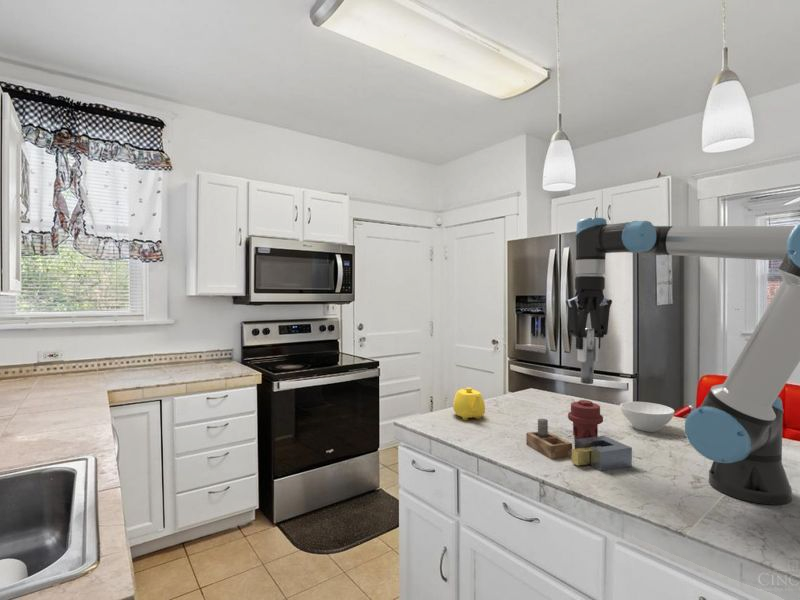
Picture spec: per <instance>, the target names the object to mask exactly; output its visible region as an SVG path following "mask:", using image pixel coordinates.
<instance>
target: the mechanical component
mask: <svg viewBox="0 0 800 600" xmlns="http://www.w3.org/2000/svg"><path fill="white" fill-rule="evenodd" d="M567 419H568V420H569V421H570V422H572V435H573V439H574V440H575V439H582V438H590V437H598V436H599V434H598V433H599V432H598V431H599V430H598V427H599V425H601V424H603V422H604V416H603V415H602V414H601V405H599V404H598V403H594V402H593V401H591V400H586V399H580V400H578V401H573V402H571V403H570V411H569V412H568V413H567Z"/></svg>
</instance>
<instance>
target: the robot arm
mask: <svg viewBox="0 0 800 600" xmlns="http://www.w3.org/2000/svg"><path fill="white" fill-rule="evenodd" d="M575 233H576V234H575V271H574V273H575V274H576V275H577V276H575V277H574V289H575V294H574V297H572V298H570V299H569V298H568V299H566V300H565V303H566V306H567V310H568V313H567V314H568V331H569V332H568V334H569V335H570V336H573V337H574V338H575V349H576V350H577V358H576V359H577V362H580V363H581V362H586V354H587V338H584V336H585V329H586V328H587V322H588V318H590V326H591V327H590V328H593V329H595V336H594V362H599V349H601V339H602V338H604V337H605V336H607V335H608V330H609V321H610V310H611V307H612V304H613V300H612V299H608V298H607V297H605V295H604V290H605V289H606V288H605V287H606V278H605V276H604V275H605V274H606V254H612V253H613V254H614V253H617V254H618V253H631V254H632V253H633V254H634V253H635V254H645V255H646V254H647V255H652V256H653V255H654V256H660V255H661V256H662V255H663V256H680V257H681V256H683V257H702V258H703V257H705V258H719V259H720V258H721V259H722V258H723V259H737V260H738V259H742V260H758V261H760V260H761V261H777V262H778V261H779V262H781V264H780V266H779V267H778V269H777V271H778V272H779V276H780V278H782V279H781V280H782V281H781V283H780V285H779V286H778V288H777V290H776V292H775V293H774V296H773V297H772V299H771V300H770V302H769V304H768V306H767V307H766V309H765V310H764V313H763V314H762V317H760V320H759V322H758V323H757V325H756V326H755V328H754V330H753V332H752V333H751V335H750V337H749V338H748V340H747V342H746V344H745V346H744V347H743V348H742V351H741V352H740V354H739V356H738V358H737V359H736V361H735V363H734V365H732V366H733V367H732V368H731V369H730V371H729V374H728V375H727V377H726V379H725V380H724V382H723V383H721V384H715V385H712V386H711V388H710V389H709V390H708V393H707V395H706V396H705V397H704V400H703V401H702V403H701V404H700V406H699V407H696V408H694V409H693V410H691V412H690V413H689V414H688V415H687V417H686V419H685V421H684V432H685V435H686V438H687V440H688V442H689V444H690V445H691V446H692V447H693V449H694V450H695V451H696V452H697V453H698V454H700V455H701V456H703V457H704V458H706V459H708V460H709V461H712V464H711V466H710V469H709V471H708V483H709V484H710V486H711V487H712V488H714V489H715V490H717V491H718V492H721V493H722V494H725V495H727V496H729V497H733V498H736V499H739V500H743V501H746V502H751V503H756V504H762V505H771V506H772V505H773V506H774V505H775V506H777V505H785V504H786V505H787V504H789V503H791V502H792V501H793V500H792V499H793V498H792V497H793V496H792V495H793V494H792V493H793V491H792V486H791V485H790V482H789V479H788V476H787V474H786V471H785V468H784V465H783V460H782V457H783V417H784V416H783V414H784V409H783V401H782V399H781V397H779V394H780V393H781V391H782V390H783V389H784V387H785V385H786V383H787V382H788V381H789V379H790V377H791V376H792V374H793V373H794V371H795V369H796V368H797V366H798V365H799V363H800V221H798V222H797V224H795V225H749V226H748V225H714V226H713V225H708V226H707V225H705V226H704V225H703V226H702V225H701V226H700V225H697V226H696V225H692V226H690V225H684V226H683V225H682V226H681V225H680V226H679V225H673V226H672V225H671V226H670V225H655V224H653V223H652V221H649V220H633V221H628V222H627V221H626V222H621V223H620V222H618V223H611V224H609V223H608V222H607V219H606V218H604V217H586V218H581V219H579V220H578V221H577V223H576V232H575ZM588 316H590V317H588Z"/></svg>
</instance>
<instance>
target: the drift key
mask: <svg viewBox="0 0 800 600" xmlns="http://www.w3.org/2000/svg"><path fill="white" fill-rule="evenodd" d="M571 463H572V464H574V465H576V466H584V465H591V447H585V448H578V449H575V448H572V456H571Z"/></svg>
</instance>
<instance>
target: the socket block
mask: <svg viewBox="0 0 800 600" xmlns="http://www.w3.org/2000/svg"><path fill="white" fill-rule="evenodd" d="M585 447H591V464H590V466H591V467H592V468H594V469H596V470H597V471H599V472H605V471H611V470H617V469H618V470H619V469H624V468H629V467H630V468H632V466H633V447H631V446H628V445H626V444H624V443H622V442H620V441H617V440H615V439H612V438H611V437H608V436H606V435H598V437H590V438H582V439H574V449H578V448H585Z"/></svg>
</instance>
